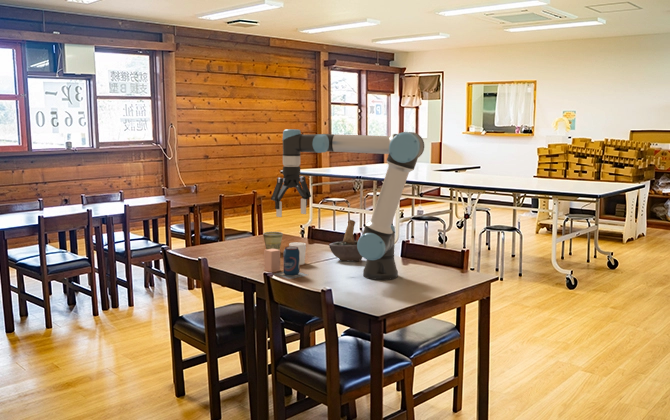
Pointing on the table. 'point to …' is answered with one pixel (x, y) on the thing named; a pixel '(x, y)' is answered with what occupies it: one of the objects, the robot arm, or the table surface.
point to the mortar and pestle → (347, 246)
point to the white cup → (300, 251)
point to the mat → (290, 276)
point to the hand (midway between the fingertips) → (291, 215)
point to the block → (272, 260)
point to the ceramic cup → (272, 240)
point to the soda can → (291, 261)
